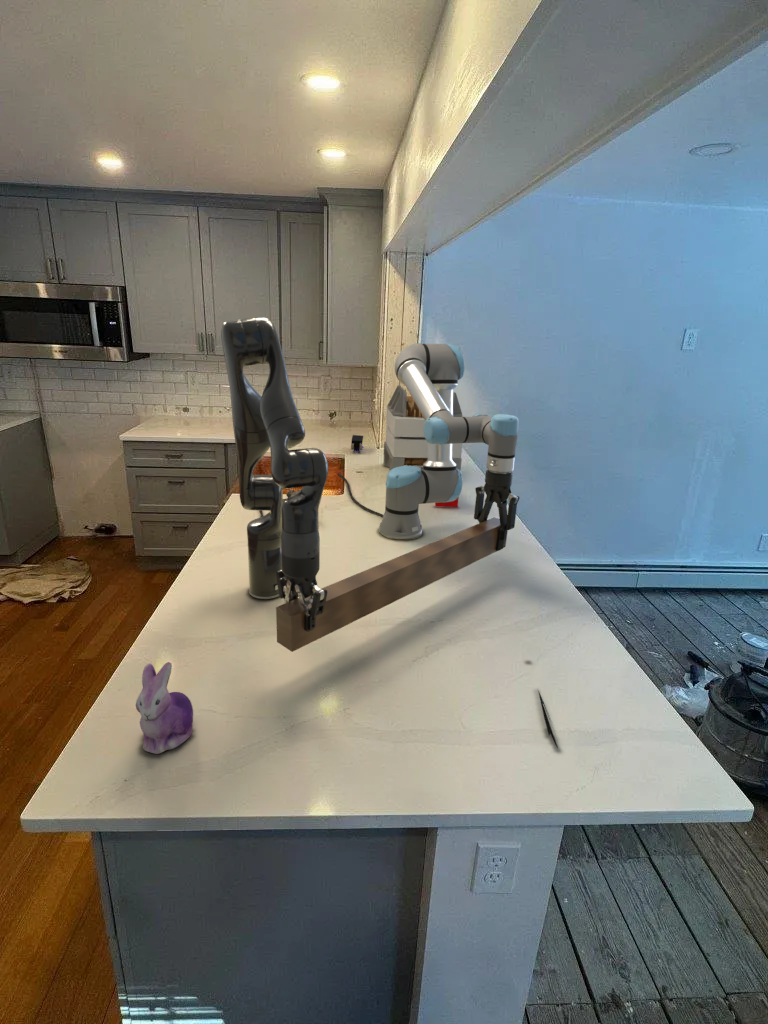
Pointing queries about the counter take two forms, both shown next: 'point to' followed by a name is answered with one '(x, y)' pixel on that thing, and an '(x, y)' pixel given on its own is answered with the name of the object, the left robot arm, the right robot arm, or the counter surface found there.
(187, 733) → the figurine
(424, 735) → the counter surface
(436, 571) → the bar
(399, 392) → the white slatted box
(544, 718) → the feather
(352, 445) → the figurine character
